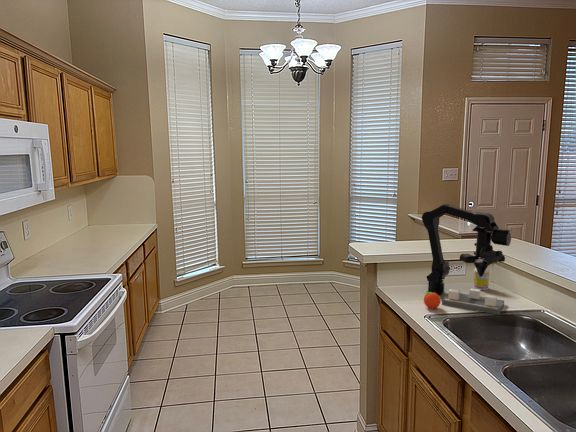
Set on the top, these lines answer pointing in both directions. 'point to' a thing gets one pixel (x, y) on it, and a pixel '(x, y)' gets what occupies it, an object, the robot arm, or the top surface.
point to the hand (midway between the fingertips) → (480, 276)
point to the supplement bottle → (481, 280)
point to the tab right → (490, 300)
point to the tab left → (454, 294)
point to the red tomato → (431, 300)
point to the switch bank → (474, 304)
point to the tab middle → (474, 293)
